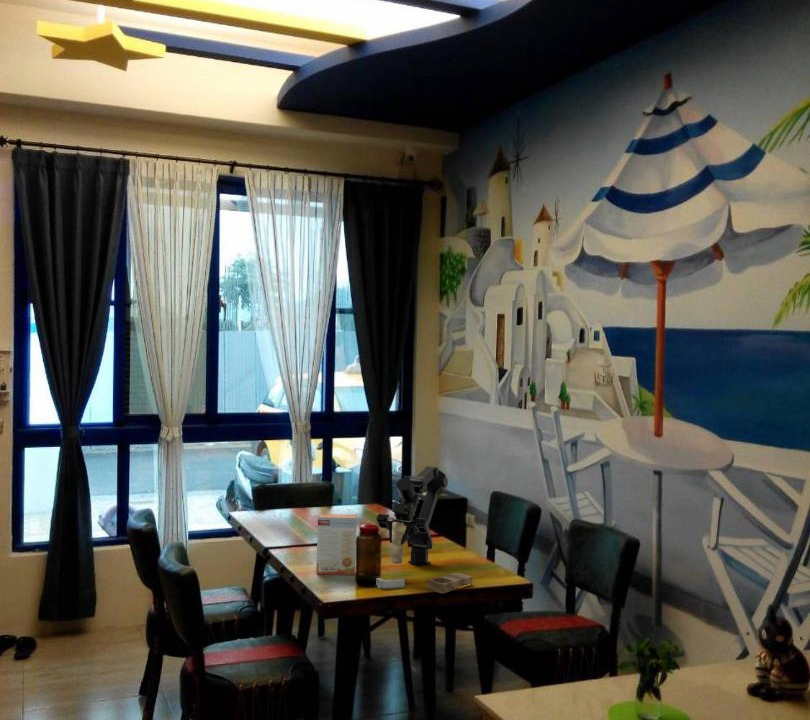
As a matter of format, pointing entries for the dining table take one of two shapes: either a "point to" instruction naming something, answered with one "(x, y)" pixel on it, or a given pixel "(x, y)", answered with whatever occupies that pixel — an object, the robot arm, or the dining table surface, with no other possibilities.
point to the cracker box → (336, 544)
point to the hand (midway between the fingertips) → (395, 543)
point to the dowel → (397, 542)
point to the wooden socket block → (448, 582)
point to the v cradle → (390, 583)
